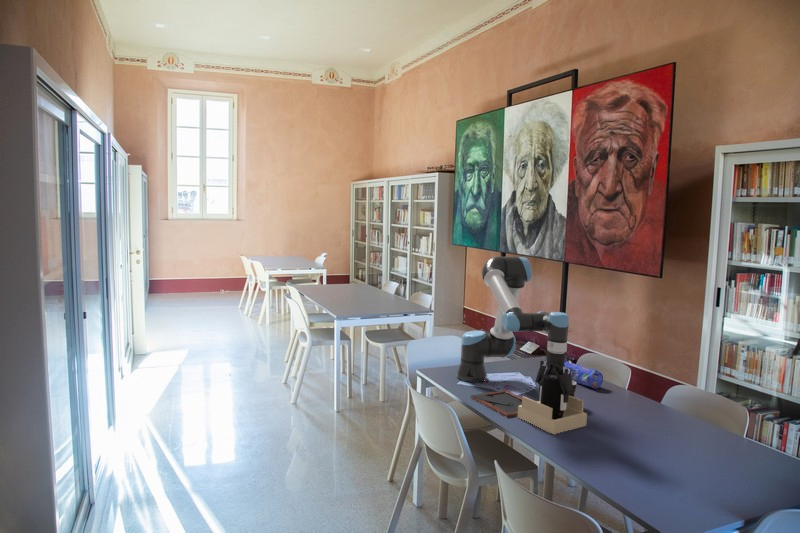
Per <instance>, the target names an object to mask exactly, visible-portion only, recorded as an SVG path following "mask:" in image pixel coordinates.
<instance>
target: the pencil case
mask: <svg viewBox="0 0 800 533" xmlns="http://www.w3.org/2000/svg"><path fill="white" fill-rule="evenodd" d="M564 365H565V368H570V369H571V380H572V381H575V382H576V383H577V384H578V385H582V386H585V387H589V388H593V389H595V390H596V389H599V388H600V387H602V385H603V383H604V382H603V381H604V376H603V373H602V372H600V371H599V370H598V369H596V368H589V367H585V366H583V365H580V364H577V363H573V362H572V361H571V360H567V361H565V363H564ZM563 372H564V371H563Z"/></svg>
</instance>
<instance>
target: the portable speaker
mask: <svg viewBox="0 0 800 533" xmlns="http://www.w3.org/2000/svg"><path fill="white" fill-rule="evenodd" d="M544 374H545V377H544V380H543V384H542V390H541V404H543V405H546V406H548V407H550V408H553V410H552V419H553V420H556V419H560V418H563V413H564V410H562V411H561V410H560V404H561V394H563V392H562V389H561V386H560V377H556V375H554V374H549V375H548V374H547V373H544ZM560 375H561V374H560ZM562 378H563V377H562Z"/></svg>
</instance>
